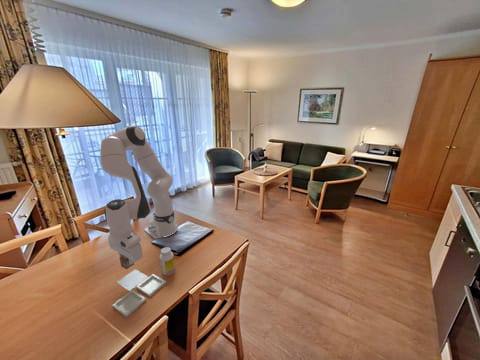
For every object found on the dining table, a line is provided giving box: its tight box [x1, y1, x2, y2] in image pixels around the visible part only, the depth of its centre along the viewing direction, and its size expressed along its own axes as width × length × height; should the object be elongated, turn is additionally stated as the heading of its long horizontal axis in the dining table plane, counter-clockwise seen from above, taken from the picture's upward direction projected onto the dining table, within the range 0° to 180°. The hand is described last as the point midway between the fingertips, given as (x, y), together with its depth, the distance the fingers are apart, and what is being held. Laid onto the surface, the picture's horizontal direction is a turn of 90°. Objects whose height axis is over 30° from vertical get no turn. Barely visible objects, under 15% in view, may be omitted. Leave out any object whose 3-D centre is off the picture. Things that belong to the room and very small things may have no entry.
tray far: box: [112, 289, 147, 318], centre depth 90 cm, size 9×9×2 cm
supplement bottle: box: [159, 246, 176, 276], centre depth 106 cm, size 7×7×13 cm
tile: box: [115, 268, 149, 292], centre depth 102 cm, size 10×10×1 cm
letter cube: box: [119, 256, 135, 270], centre depth 99 cm, size 4×4×5 cm
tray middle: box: [135, 273, 167, 298], centre depth 99 cm, size 9×9×2 cm
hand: (127, 261), depth 99 cm, fingers closed on letter cube, 4 cm apart
